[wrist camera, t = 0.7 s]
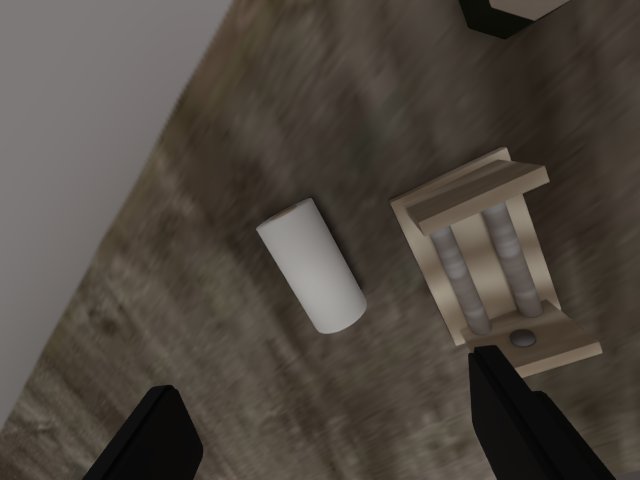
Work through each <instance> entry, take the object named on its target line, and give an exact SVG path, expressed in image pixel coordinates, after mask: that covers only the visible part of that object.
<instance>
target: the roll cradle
mask: <svg viewBox="0 0 640 480" xmlns="http://www.w3.org/2000/svg"><path fill="white" fill-rule="evenodd" d="M548 182H550V181H549V178H548V175H547V172H546V168H545V166H543V165H535V164H528V163H521V162H514V161H511V159H510V156H509V153H508V150H507V148H504V147H500V148H498V149H495V150H493V151H491V152H489V153H487V154H485V155H483V156H481V157H479V158H477V159H475V160H473V161H470V162H468V163H466V164H464V165H462V166H460V167H458V168H456V169H454V170H452V171H450V172H448V173H446V174H443V175H441V176H439V177H437V178H435V179H433V180H431V181H429V182H427V183H425V184H423V185H421V186H418V187H416V188H414V189H412V190H410V191H408V192H406V193H404V194H402V195H400V196H398V197H396V198H393V199H391V200H389V203H390V205H391V207H392V209H393V211H394V213H395V215H396V218H397V220H398V222H399V224H400V226H401V228H402V231H403V233H404V235H405V237H406V239H407V241H408V243H409V246H410V248H411V250H412V252H413V254H414V256H415V259H416V261H417V263H418V265H419V267H420V269H421V271H422V274H423V276H424V278H425V280H426V282H427V284H428V287H429V289H430V291H431V293H432V295H433V297H434V299H435V302H436V304H437V306H438V308H439V310H440V312H441V315H442V317H443V319H444V321H445V323H446V325H447V327H448V330H449V332H450V334H451V336H452V338H453V340H454V342H455V344H456V346H458V345H461V344H463V343H466V344H467V346H468V347H469V349H470V351H471V352H472V353H474V347H479V346H487V345H497V346H498V348H499V349H500V350H501V351H502V353H503V354H504V355H505V357H506V358H507V359H508V361H509V362H510V363H511V365H512V366H513V367H514V368H515V370H516V371H517V372H518V374H519V375H520V376H521V378H523V377H526V376H529V375H533V374H536V373H539V372H542V371H546V370H549V369H552V368H555V367H559V366H562V365H565V364H568V363H572V362H575V361H578V360H582V359H585V358H588V357H591V356H595V355H598V354H601V353H602V349H601V346H600V343H599V341H598V340H596V339H595V338H594V337H593V336H591V335H590V334H589V333H588V332H586V331H585V330H584V329H583V328H581V327H580V326H579V325H578V324H576V323H575V322H574V321H573V320H572V319H570V318H569V317H568V316H567V315H565V314H564V313H563V312H562V311H560V310H561V307H560V304H559V301H558V298H557V295H556V292H555V289H554V286H553V283H552V280H551V277H550V274H549V271H548V268H547V265H546V262H545V260H544V257H543V254H542V251H541V248H540V245H539V242H538V239H537V236H536V233H535V230H534V227H533V224H532V221H531V218H530V215H529V212H528V209H527V206H526V203H525V200H524V197H523V193H525V192H527V191H529V190H532V189H534V188H536V187H538V186H541V185H543V184H545V183H548Z"/></svg>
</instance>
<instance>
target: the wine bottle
mask: <svg viewBox="0 0 640 480" xmlns="http://www.w3.org/2000/svg"><path fill="white" fill-rule="evenodd" d="M569 1H571V0H459V2H460V5H461V8H462V11H463V13H464V16H465V19H466V22H467V25H468V27H469V28H470V29H474V30H477V31H480V32H483V33H486V34H490V35H493V36H496V37H499V38H502V39H507V38H508V37H510V36H512V35H514V34H515V33H517V32H519V31H521V30H522V29H524V28H526V27H527V26H529V25H531V24H533V23H534V22H536V21H538V20H540V19H541V18H543V17H545V16H546V15H548V14H550V13H551V12H553V11H554V10H556V9H558V8H559V7H561V6H563V5H564V4H566V3H567V2H569Z"/></svg>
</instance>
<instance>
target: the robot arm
mask: <svg viewBox="0 0 640 480" xmlns="http://www.w3.org/2000/svg"><path fill="white" fill-rule="evenodd" d="M468 360H469V377H470V394H471V411H472V423H473V427H474V430H475V433H476V435H477V437H478V439H479V442H480V444H481V446H482V448H483V450H484V452H485V455H486V457H487V459H488V461H489V463H490V465H491V467H492V470H493V472H494V474H495V476H496V478H497V480H616V479H615V477H614V476H613V475H612V474H611V473H610V471H609V470H608V469H607V468H606V466H605V465H604V464H603V463H602V461H601V460H600V459H599V458H598V457H597V455H596V454H595V453H594V452H593V450H592V449H591V448H590V447H589V445H588V444H587V443H586V442H585V440H584V439H583V438H582V437H581V436H580V434H579V433H578V432H577V431H576V429H575V428H574V427H573V426H572V424H571V423H570V422H569V421H568V419H567V418H566V417H565V416H564V415H563V413H562V412H561V411H560V410H559V408H558V407H557V406H556V405H555V403H554V402H553V401H552V400H551V399H550V398H549V397H548V395H547V394H545V393H544V392H542V391H531V390H530V388H529V387H528V386H527V384H526V383H525V382H524V380H523V379H522V378H521V376H520V375H519V374H518V372H517V371H516V370H515V368H514V367H513V366H512V365H511V363H510V362H509V361H508V359H507V358H506V357H505V355H504V354H503V353H502V351H501V350H500V349H499V348H498V346H497V345H487V346H479V347H474V353H469V354H468ZM202 457H203V445H202V443H201V441H200V438H199V436H198V434H197V432H196V429H195V427H194V425H193V423H192V420H191V418H190V416H189V414H188V411H187V409H186V407H185V405H184V403H183V400H182V398H181V396H180V394H179V391H178V390H177V389H175V388H174V387H173V386H172V385H163V386H155V387H152V388H151V389H150V390H149V391H148V392H147V393H146V395H145V396H144V397H143V399H142V400H141V401H140V403H139V404H138V405H137V407H136V408H135V409H134V411H133V412H132V413H131V415H130V416H129V417H128V419H127V420H126V421H125V423H124V424H123V425H122V427H121V428H120V429H119V431H118V432H117V433H116V435H115V436H114V437H113V439H112V440H111V441H110V443H109V444H108V445H107V447H106V448H105V449H104V451H103V452H102V453H101V455H100V456H99V457H98V459H97V460H96V461H95V463H94V464H93V465H92V467H91V468H90V469H89V471H88V472H87V473H86V475H85V476H84V477H83V479H82V480H193V479H194V476H195V474H196V471H197V469H198V467H199V464H200V462H201V460H202Z"/></svg>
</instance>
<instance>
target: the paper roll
mask: <svg viewBox="0 0 640 480" xmlns="http://www.w3.org/2000/svg"><path fill="white" fill-rule="evenodd" d="M256 230H257V232H258V233H259V235H260V236H261V238H262V240H263V241H264V243H265V245H266V246H267V248H268V250H269V251H270V253H271V255H272V256H273V258H274V260H275V261H276V263H277V265H278V266H279V268H280V270H281V271H282V273H283V275H284V276H285V278H286V280H287V281H288V283H289V285H290V286H291V288H292V290H293V291H294V293H295V295H296V296H297V298H298V299H299V301H300V303H301V304H302V306H303V308H304V309H305V311H306V313H307V314H308V316H309V318H310V319H311V321H312V323H313V324H314V326H315V328H316V329H317V331H319V332H321V333H325V334H328V333H334V332H338V331H340V330H343V329H345V328H347V327H349V326H350V325H352V324H353V323H354V322H356V321H357V320H358V319H359V318H360V317H361V316H362V314H363V313H364V312H365V310H366V307H367V301H366V299H365V297H364V295H363V293H362V291H361V289H360V288H359V286H358V284H357V282H356V280H355V278H354V276H353V274H352V273H351V271H350V269H349V267H348V265H347V263H346V261H345V259H344V258H343V256H342V254H341V252H340V250H339V248H338V246H337V244H336V243H335V241H334V239H333V237H332V235H331V233H330V231H329V230H328V228H327V226H326V224H325V222H324V220H323V218H322V216H321V215H320V213H319V211H318V209H317V207H316V205H315V203H314V201H313V200H312V198H308V199H305V200H302V201H300V202H298V203H296V204H294V205H292V206H290V207H288V208H286V209H284V210H282V211H281V212H279V213H277V214H275V215H274V216H272V217H270V218H269V219H267V220H266V221H264V222H263V223H262V224H260V225H259V226H258V227H257V228H256Z"/></svg>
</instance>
